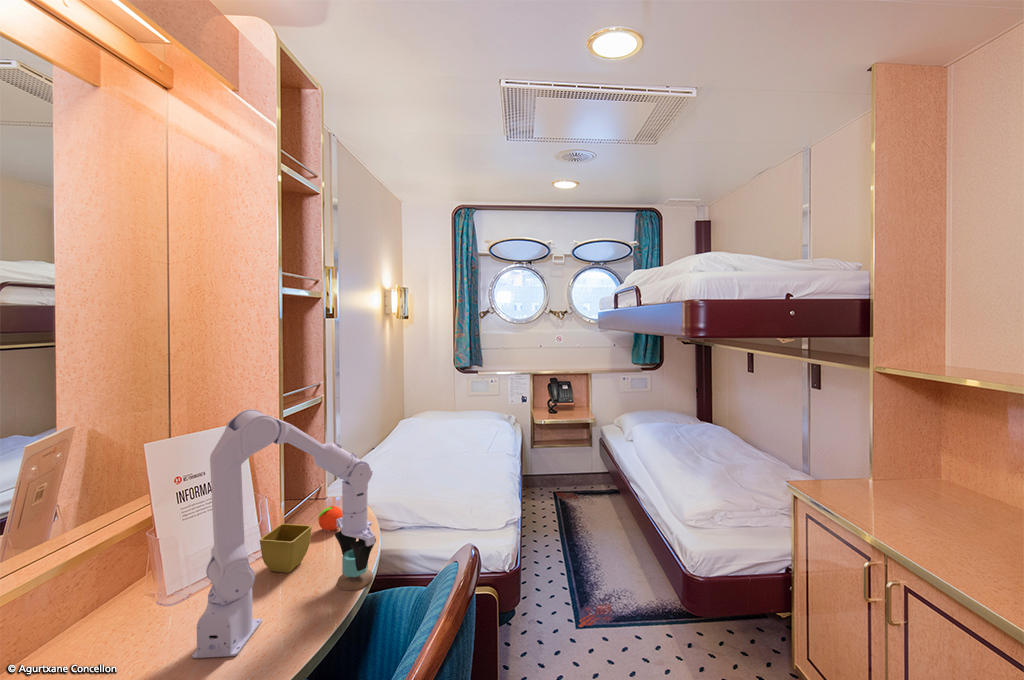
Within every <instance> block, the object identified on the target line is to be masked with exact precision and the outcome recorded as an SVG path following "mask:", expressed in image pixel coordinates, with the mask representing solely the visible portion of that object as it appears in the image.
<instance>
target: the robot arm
mask: <svg viewBox="0 0 1024 680" xmlns="http://www.w3.org/2000/svg"><path fill="white" fill-rule="evenodd" d="M287 443H288V444H289V445H291V446H293V447H296V448H297V449H299V450H301V451H303V452H304V453H307V454H309V455H310V456H313V461H314V465H316V466H317V467H318V468H320V469H323V470H324V471H326V472H328V473H330V474H332V475H334V476H335V477H337V478H339V479H340V480H342V482H341V484H342V485H341V489H342V491H341V494H342V496H341V497H342V498H341V500H342V501H341V502H342V504H341V506H342V508H341V510H342V518H339V519H337V527H338V528H337V529H340V530H339V531H337V532H335V533H334V537H335V539H336V540H337V542H338V544H339V547H340V549H341V554H342V556H343V555H344V553H345V552H346V551H348V550H351V549H352V550H353V552H354V556H355V563H356V569H357V571H361V570H363V569H365V568H366V567H367V563H368V564H369V559H370V554H371V551H373V550H372V549H373V548H374V545H375V544H376V543H377V538H376V534H374V533H373V531H372V529H371V526H372V525H373V522H372V521H370V520H369V519H368V518H369V517H368V514H369V512H368V511H369V510H368V509H369V506H368V504H369V503H368V500H369V498H368V491H369V490H368V488H369V482H370V481H371V479H372V477H373V472H374V471H373V470H372V469H371V467H370V464H369V463H368V462H367V461H364V460H362V459H360V458H358V454H356V453H354V452H351V453H350V452H349V451H347V450H345V449H343V448H342V447H343V445H342V444H341V443H339V442H337V441H336V442H332V441H329V442H326V443H322V442H320V441H319V440H317V439H315V438H314V437H312V436H311V435H309V434H308V433H305V432H304V431H303V430H301V429H299V428H298V427H296V426H294V425H293V424H291V423H288V421H284V420H281V419H280V418H279V419H278V418H276V417H275V416H274V417H273V416H272V415H268V414H264V413H263V412H261V411H259V410H257V409H246V410H242V411H241V412H239V413H238V414H236V416H234V417H232V419H230V420H229V421H228V422H227V423H226V426H225V429H224V432H223V433H222V435H221V436H220V438H219V440H218V442H217V443H216V445H215V446H214V447H213V448H214V449H213V450H212V451H211V453H210V455H209V457H210V458H209V466H210V468H209V470H210V484H211V485H210V487H211V488H210V489H211V491H210V492H211V508H212V509H211V510H212V529H213V531H212V532H213V533H212V534H213V546H212V548H211V549H210V550H211V551H210V552H211V555H210V559H209V562H208V564H207V565H206V571H205V572H206V573H205V575H206V578H207V579H208V580H209V581H210V583H211V584H212V585H211V587H210V588H209V592H208V594H207V604H206V608H205V610H204V612H203V614H202V615H201V616H200V618H199V619H198V621H197V622H196V650H194V652H193V653H192V655H191V657H192V658H191V659H201V658H202V659H204V658H221V657H235V656H237V655H238V654H239V653H240V651H241V650H242V649H243V648H244V647H245V645H246V644H247V642H248V641H249V639H250V638H251V637H252V635H253V634H254V633H255V631H256V630H257V628H258V627H259V626H260V624H261V623H262V621H263V619H262V618H254V617H253V615H254V614H253V586H254V583H255V580H256V573H255V571H254V568H252V566H251V565H250V561H249V559H250V558H249V555H248V551H247V546H246V543H245V542H246V541H245V540H246V539H245V526H244V525H245V523H244V522H245V521H244V502H243V501H244V500H243V499H244V498H243V477H242V476H243V475H242V465H243V463H245V462H246V460H248V459H249V458H250V457H251V456H252V455H254V454H255V453H257V452H259V451H262V450H264V449H265V448H267V447H268V446H271V445H272V444H275V445H281V444H287ZM357 539H358V540H357Z"/></svg>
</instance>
